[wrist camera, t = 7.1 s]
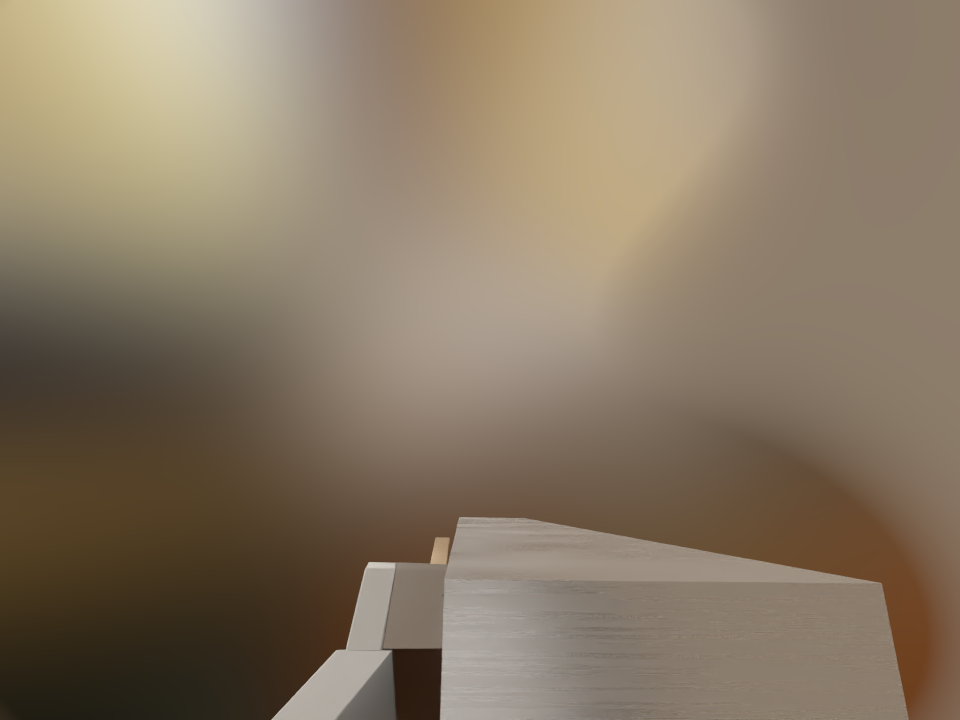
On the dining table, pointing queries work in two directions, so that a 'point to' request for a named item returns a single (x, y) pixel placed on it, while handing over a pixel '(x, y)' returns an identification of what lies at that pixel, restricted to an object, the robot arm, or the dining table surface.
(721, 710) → the steel bar
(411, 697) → the robot arm
